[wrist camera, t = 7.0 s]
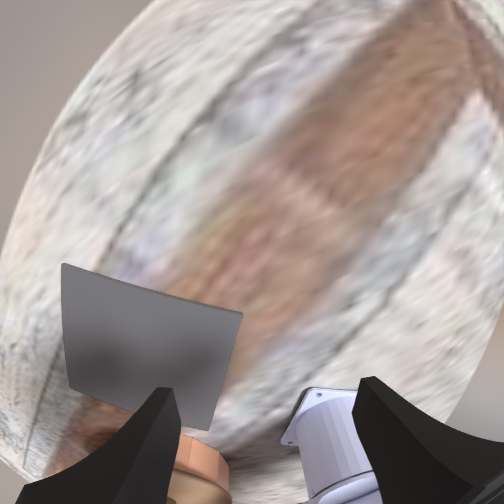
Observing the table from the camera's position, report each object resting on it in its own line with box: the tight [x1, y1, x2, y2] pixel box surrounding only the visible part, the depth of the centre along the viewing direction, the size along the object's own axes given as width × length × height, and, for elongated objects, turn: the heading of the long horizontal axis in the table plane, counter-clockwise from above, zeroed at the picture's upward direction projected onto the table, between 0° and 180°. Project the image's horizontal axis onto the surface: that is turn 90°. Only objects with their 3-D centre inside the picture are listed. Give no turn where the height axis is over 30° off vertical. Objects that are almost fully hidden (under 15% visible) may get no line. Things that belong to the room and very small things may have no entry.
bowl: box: [173, 435, 229, 493], centre depth 22 cm, size 13×13×5 cm
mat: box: [61, 263, 242, 431], centre depth 20 cm, size 14×13×1 cm
